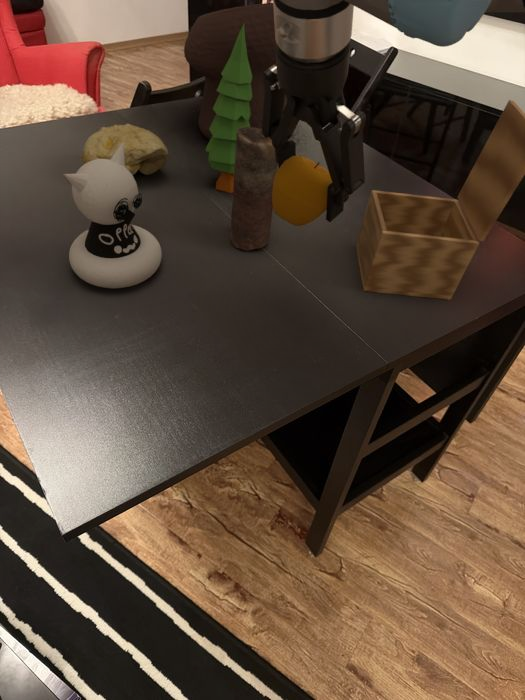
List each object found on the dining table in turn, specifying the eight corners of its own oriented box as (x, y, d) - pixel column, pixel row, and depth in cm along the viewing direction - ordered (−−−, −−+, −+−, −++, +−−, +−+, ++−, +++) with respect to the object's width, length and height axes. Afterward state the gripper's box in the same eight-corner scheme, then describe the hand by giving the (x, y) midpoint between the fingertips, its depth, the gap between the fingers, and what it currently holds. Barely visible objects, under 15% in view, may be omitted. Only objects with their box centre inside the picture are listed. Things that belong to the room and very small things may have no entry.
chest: (363, 291, 83) (382, 233, 75) (355, 246, 93) (371, 189, 84) (450, 299, 84) (479, 243, 75) (434, 254, 93) (458, 199, 85)
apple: (264, 220, 62) (297, 156, 58) (254, 197, 69) (282, 138, 65) (319, 243, 66) (353, 184, 62) (304, 219, 72) (334, 164, 68)
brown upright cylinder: (231, 227, 93) (238, 121, 78) (269, 231, 93) (282, 126, 78) (228, 250, 87) (234, 141, 73) (268, 254, 88) (282, 146, 73)
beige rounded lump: (107, 166, 109) (69, 181, 97) (106, 114, 103) (65, 123, 91) (176, 182, 107) (147, 199, 95) (179, 130, 101) (148, 142, 89)
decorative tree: (257, 189, 104) (274, 27, 82) (225, 202, 99) (233, 33, 77) (227, 171, 108) (236, 12, 86) (195, 182, 103) (195, 17, 81)
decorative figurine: (108, 307, 74) (87, 187, 59) (53, 264, 80) (22, 145, 65) (180, 268, 82) (177, 154, 68) (125, 231, 88) (112, 119, 74)
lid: (541, 137, 63) (547, 138, 63) (508, 99, 73) (513, 100, 73) (478, 240, 75) (483, 241, 75) (457, 196, 84) (461, 197, 85)
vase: (299, 121, 132) (319, -13, 110) (279, 163, 113) (299, 11, 92) (205, 102, 134) (207, -32, 112) (171, 140, 116) (165, -12, 94)
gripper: (214, 17, 50) (241, 175, 71) (369, 110, 43) (349, 256, 64) (265, -17, 52) (277, 147, 73) (422, 66, 45) (386, 222, 66)
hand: (310, 198), depth 68 cm, fingers closed on apple, 8 cm apart
